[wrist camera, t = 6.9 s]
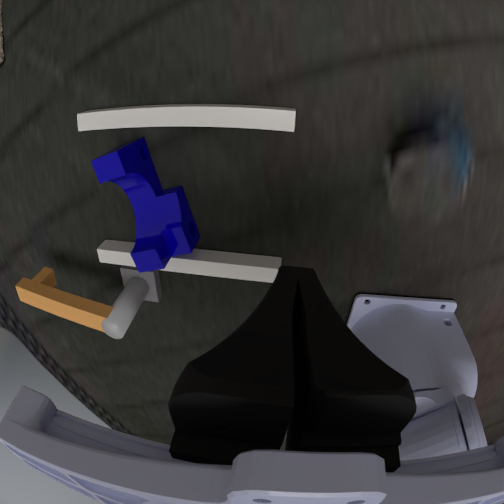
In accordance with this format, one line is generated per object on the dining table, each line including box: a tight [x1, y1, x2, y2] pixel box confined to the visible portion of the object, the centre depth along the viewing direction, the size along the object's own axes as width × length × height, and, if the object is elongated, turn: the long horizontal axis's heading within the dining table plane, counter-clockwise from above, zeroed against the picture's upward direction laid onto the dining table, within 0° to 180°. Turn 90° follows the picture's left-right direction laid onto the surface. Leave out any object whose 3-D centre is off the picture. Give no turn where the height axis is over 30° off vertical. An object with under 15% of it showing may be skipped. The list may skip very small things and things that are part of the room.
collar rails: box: [77, 104, 296, 302], centre depth 22 cm, size 14×15×2 cm
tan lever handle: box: [16, 267, 149, 339], centre depth 23 cm, size 10×2×5 cm, turn 81°
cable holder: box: [91, 137, 200, 273], centre depth 20 cm, size 8×4×4 cm, turn 15°
